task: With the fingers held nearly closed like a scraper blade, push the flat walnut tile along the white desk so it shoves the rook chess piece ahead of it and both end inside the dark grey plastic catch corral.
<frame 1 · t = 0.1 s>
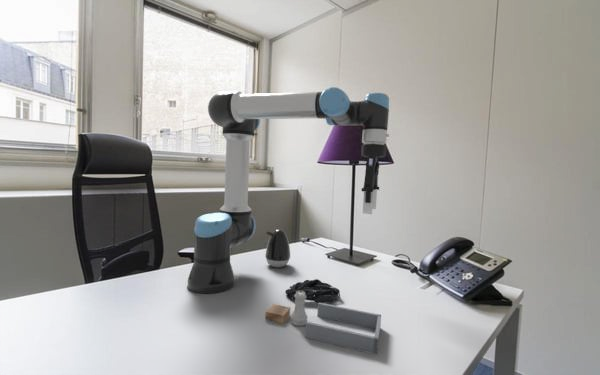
hand: (369, 211, 94), 28 cm above the table, fingers open, 13 cm apart
catch corral: (344, 332, 73), on the table
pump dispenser: (277, 266, 122), on the table
rook chess piece: (298, 322, 77), on the table
walnut tile: (277, 318, 79), on the table
cable: (311, 296, 95), on the table
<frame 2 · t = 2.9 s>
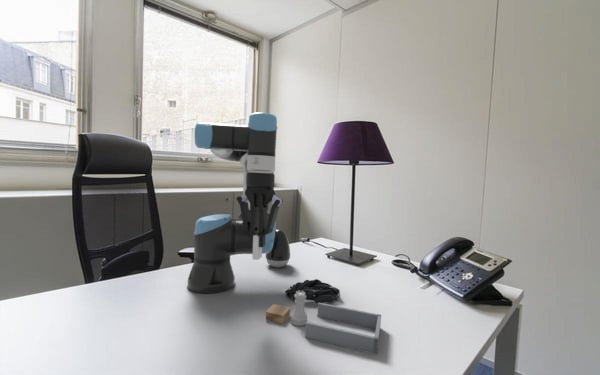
hand: (257, 258, 80), 15 cm above the table, fingers closed
nothing on the table moved.
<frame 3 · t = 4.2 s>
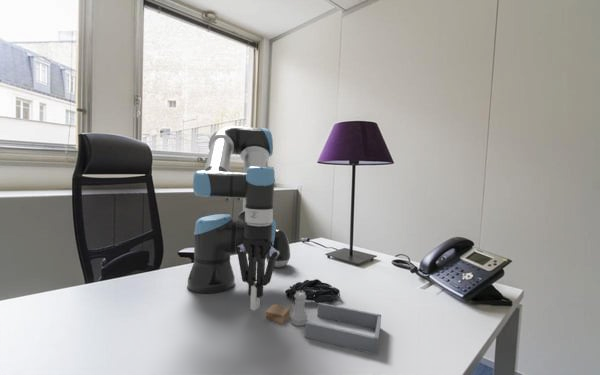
hand: (254, 307, 81), 1 cm above the table, fingers closed
nothing on the table moved.
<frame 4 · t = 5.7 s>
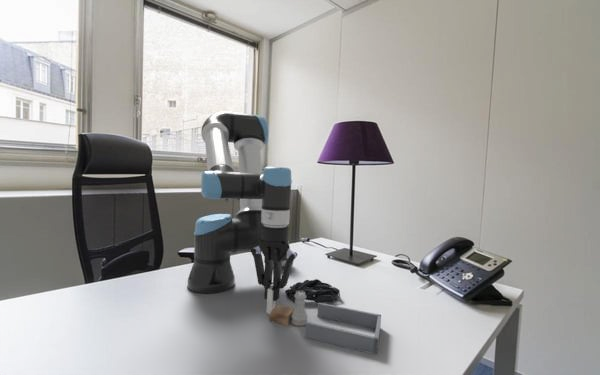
hand: (271, 311, 79), 1 cm above the table, fingers closed
rook chess piece: (298, 322, 77), on the table, touching walnut tile
walnut tile: (282, 319, 79), on the table, touching gripper, rook chess piece
everything else where it was.
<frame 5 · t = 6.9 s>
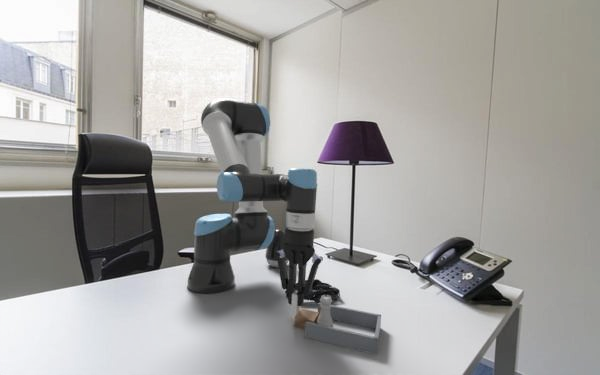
hand: (295, 316, 77), 1 cm above the table, fingers closed
rook chess piece: (324, 328, 75), on the table, touching walnut tile
walnut tile: (306, 323, 77), on the table, touching gripper, rook chess piece
everything else where it was.
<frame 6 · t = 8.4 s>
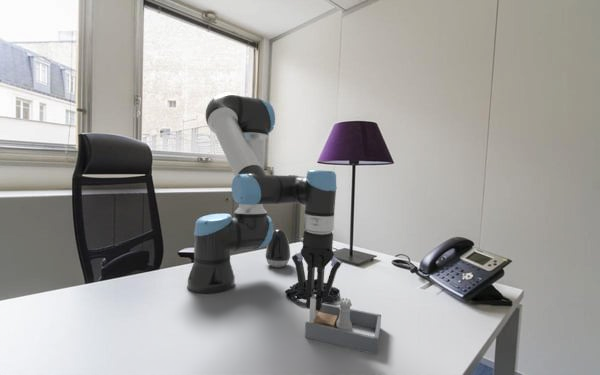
hand: (313, 320, 76), 1 cm above the table, fingers closed
rook chess piece: (343, 331, 74), on the table, touching walnut tile
walnut tile: (325, 327, 75), on the table, touching gripper, rook chess piece
everything else where it was.
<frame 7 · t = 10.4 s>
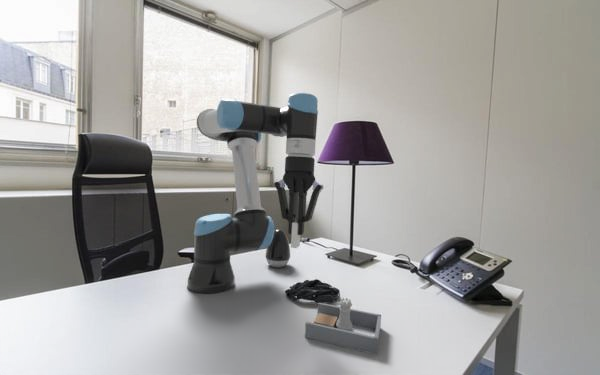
hand: (295, 246, 77), 20 cm above the table, fingers closed
rook chess piece: (343, 331, 74), on the table
walnut tile: (325, 328, 75), on the table
everything else where it was.
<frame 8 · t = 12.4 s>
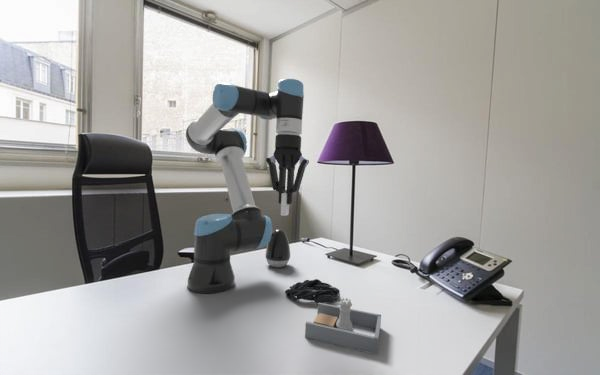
hand: (284, 214, 87), 26 cm above the table, fingers closed
nothing on the table moved.
at the end: rook chess piece inside the target area (0.9 cm from its centre), on the table; walnut tile inside the target area (5.4 cm from its centre), on the table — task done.
